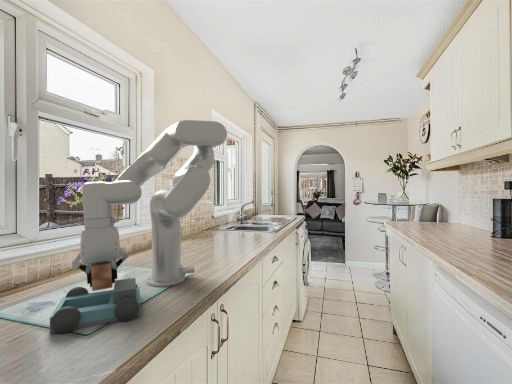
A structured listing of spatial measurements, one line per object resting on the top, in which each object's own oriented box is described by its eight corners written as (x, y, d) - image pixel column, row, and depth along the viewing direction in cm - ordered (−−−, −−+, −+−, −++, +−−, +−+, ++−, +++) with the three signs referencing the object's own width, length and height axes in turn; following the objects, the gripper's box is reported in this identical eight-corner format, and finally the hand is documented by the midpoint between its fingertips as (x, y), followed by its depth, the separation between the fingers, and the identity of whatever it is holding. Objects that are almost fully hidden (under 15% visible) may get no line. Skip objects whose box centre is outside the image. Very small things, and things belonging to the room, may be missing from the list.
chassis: (139, 296, 77) (139, 274, 77) (140, 318, 63) (140, 291, 63) (63, 308, 69) (63, 283, 69) (48, 336, 56) (48, 305, 56)
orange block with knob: (113, 282, 82) (111, 256, 82) (112, 287, 78) (110, 260, 77) (94, 285, 80) (92, 259, 80) (92, 291, 75) (90, 263, 75)
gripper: (131, 219, 85) (134, 274, 86) (67, 224, 78) (71, 285, 78) (131, 222, 78) (134, 282, 79) (61, 228, 71) (65, 294, 72)
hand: (102, 283), depth 79 cm, fingers closed on orange block with knob, 5 cm apart
